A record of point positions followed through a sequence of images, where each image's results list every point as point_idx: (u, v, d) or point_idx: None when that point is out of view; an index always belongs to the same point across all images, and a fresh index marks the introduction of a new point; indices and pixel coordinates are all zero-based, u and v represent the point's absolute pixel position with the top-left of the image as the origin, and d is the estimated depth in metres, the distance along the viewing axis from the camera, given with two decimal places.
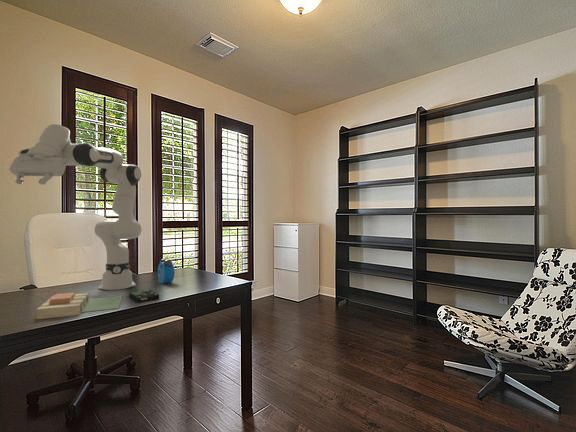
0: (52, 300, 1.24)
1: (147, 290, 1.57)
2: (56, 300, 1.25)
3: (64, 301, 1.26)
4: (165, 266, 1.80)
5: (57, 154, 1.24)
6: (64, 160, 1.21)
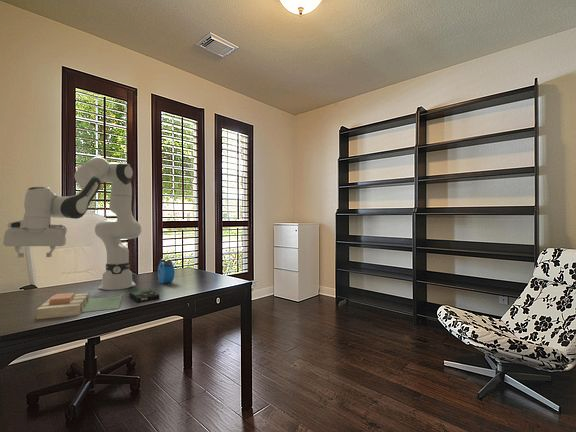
0: (52, 300, 1.24)
1: (147, 290, 1.57)
2: (56, 300, 1.25)
3: (64, 301, 1.26)
4: (165, 266, 1.80)
5: (50, 221, 1.28)
6: (64, 230, 1.29)
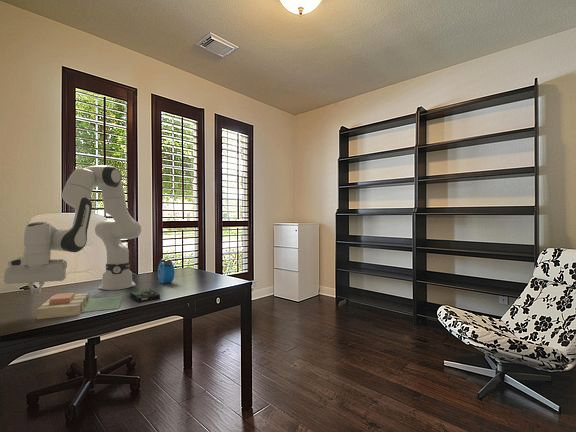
0: (52, 300, 1.24)
1: (148, 290, 1.58)
2: (56, 300, 1.25)
3: (64, 301, 1.26)
4: (165, 266, 1.80)
5: None
6: (64, 265, 1.30)
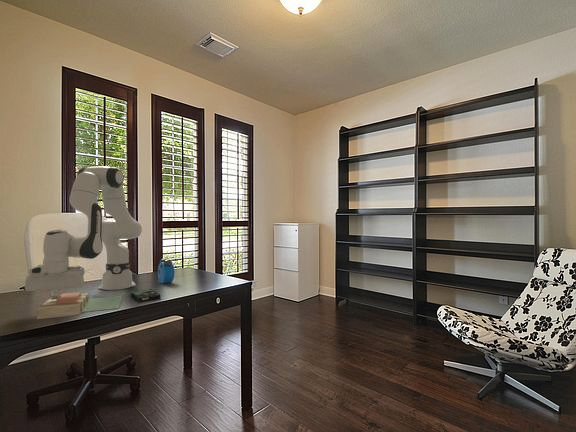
0: (59, 299, 1.25)
1: (149, 290, 1.58)
2: (63, 299, 1.26)
3: (71, 300, 1.27)
4: (165, 266, 1.80)
5: (68, 263, 1.31)
6: (82, 271, 1.33)
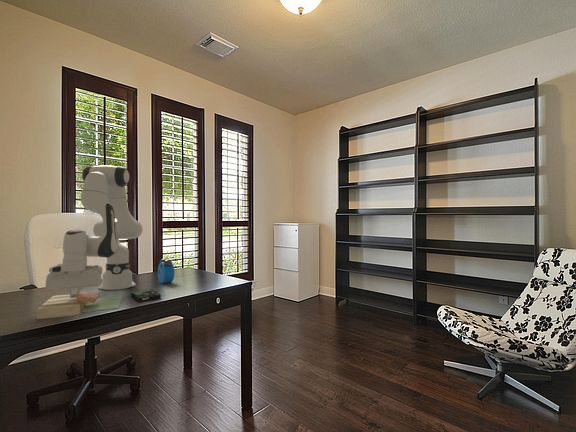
0: (79, 297, 1.28)
1: (149, 290, 1.58)
2: (83, 298, 1.29)
3: (90, 300, 1.30)
4: (165, 266, 1.80)
5: (86, 262, 1.34)
6: (100, 270, 1.36)
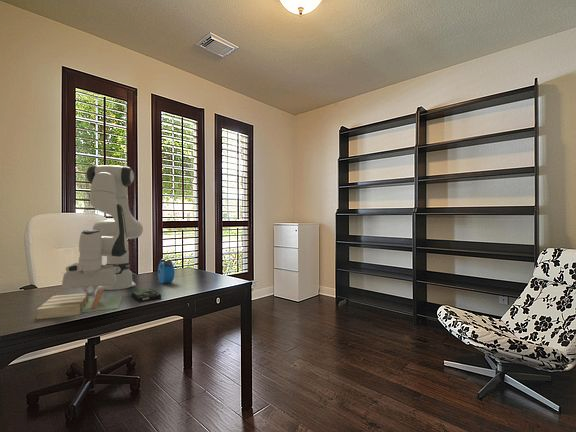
0: (99, 294, 1.31)
1: (149, 290, 1.58)
2: (98, 297, 1.31)
3: (94, 303, 1.31)
4: (165, 266, 1.80)
5: (101, 261, 1.37)
6: (114, 270, 1.38)
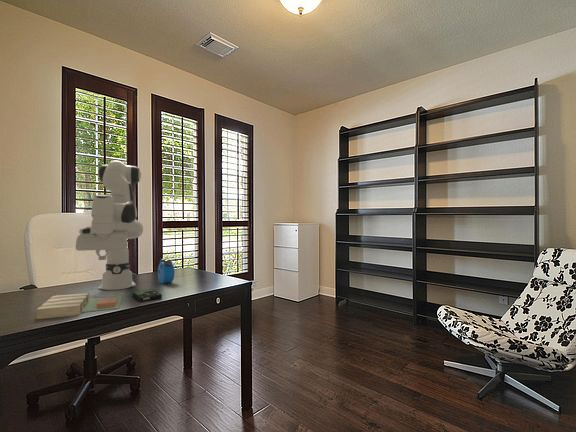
0: (112, 305, 1.33)
1: (150, 290, 1.58)
2: (108, 305, 1.33)
3: (101, 305, 1.32)
4: (165, 266, 1.80)
5: (113, 226, 1.39)
6: (126, 235, 1.41)
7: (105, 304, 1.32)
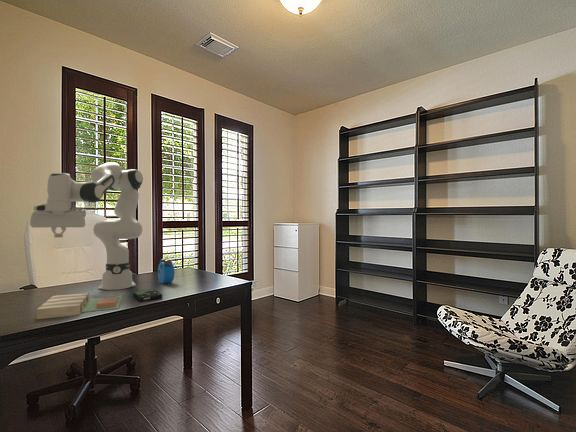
0: (112, 305, 1.33)
1: (151, 290, 1.58)
2: (108, 305, 1.33)
3: (101, 305, 1.32)
4: (165, 266, 1.80)
5: (70, 204, 1.40)
6: (84, 213, 1.41)
7: (105, 304, 1.32)
